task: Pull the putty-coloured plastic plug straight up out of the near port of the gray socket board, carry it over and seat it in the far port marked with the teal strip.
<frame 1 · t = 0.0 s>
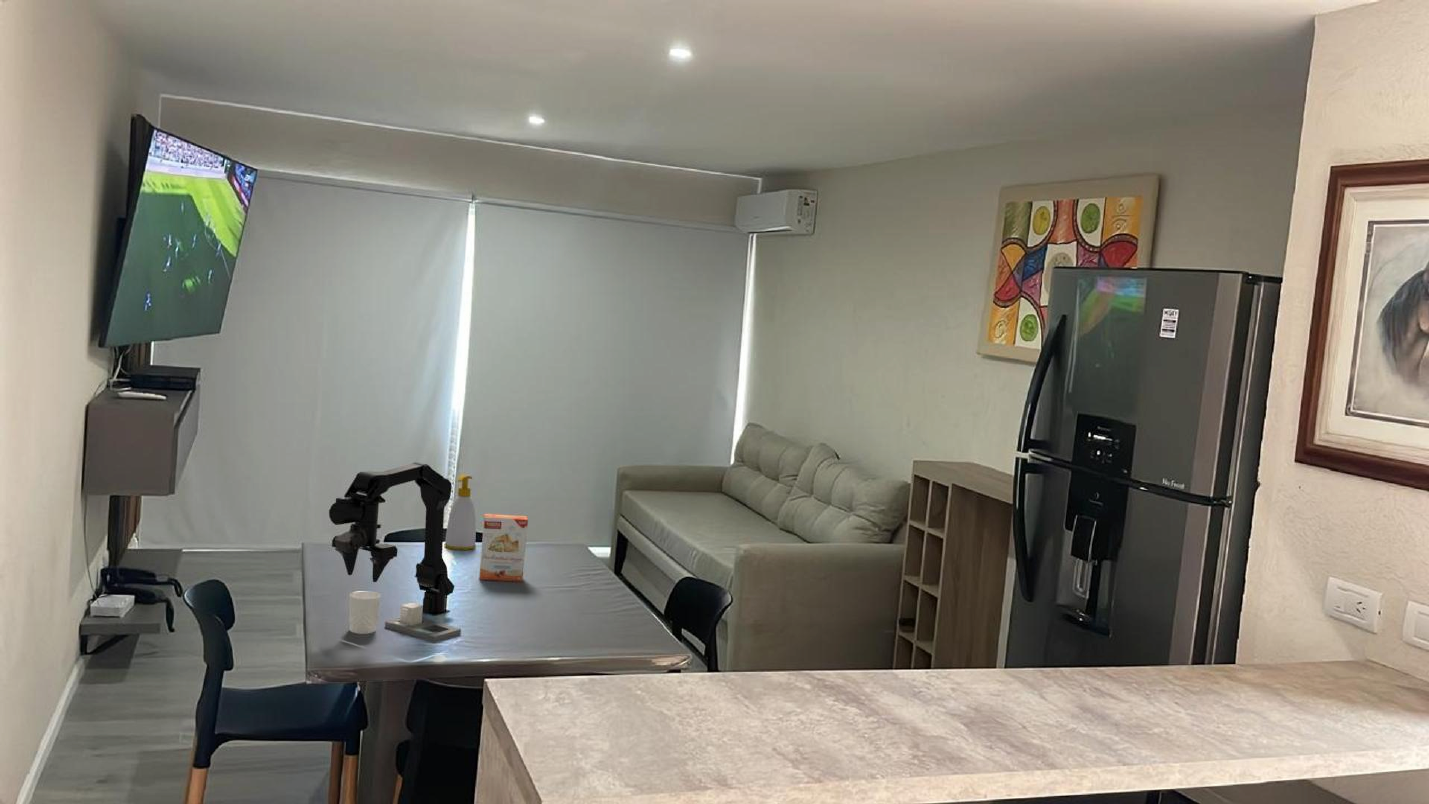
hand: (362, 578, 300), 15 cm above the table, fingers open, 9 cm apart
white cup: (362, 632, 302), on the table
plug: (410, 627, 308), resting on gray socket board
gray socket board: (422, 632, 306), on the table
soap bottle: (459, 547, 409), on the table
cracker box: (500, 579, 370), on the table
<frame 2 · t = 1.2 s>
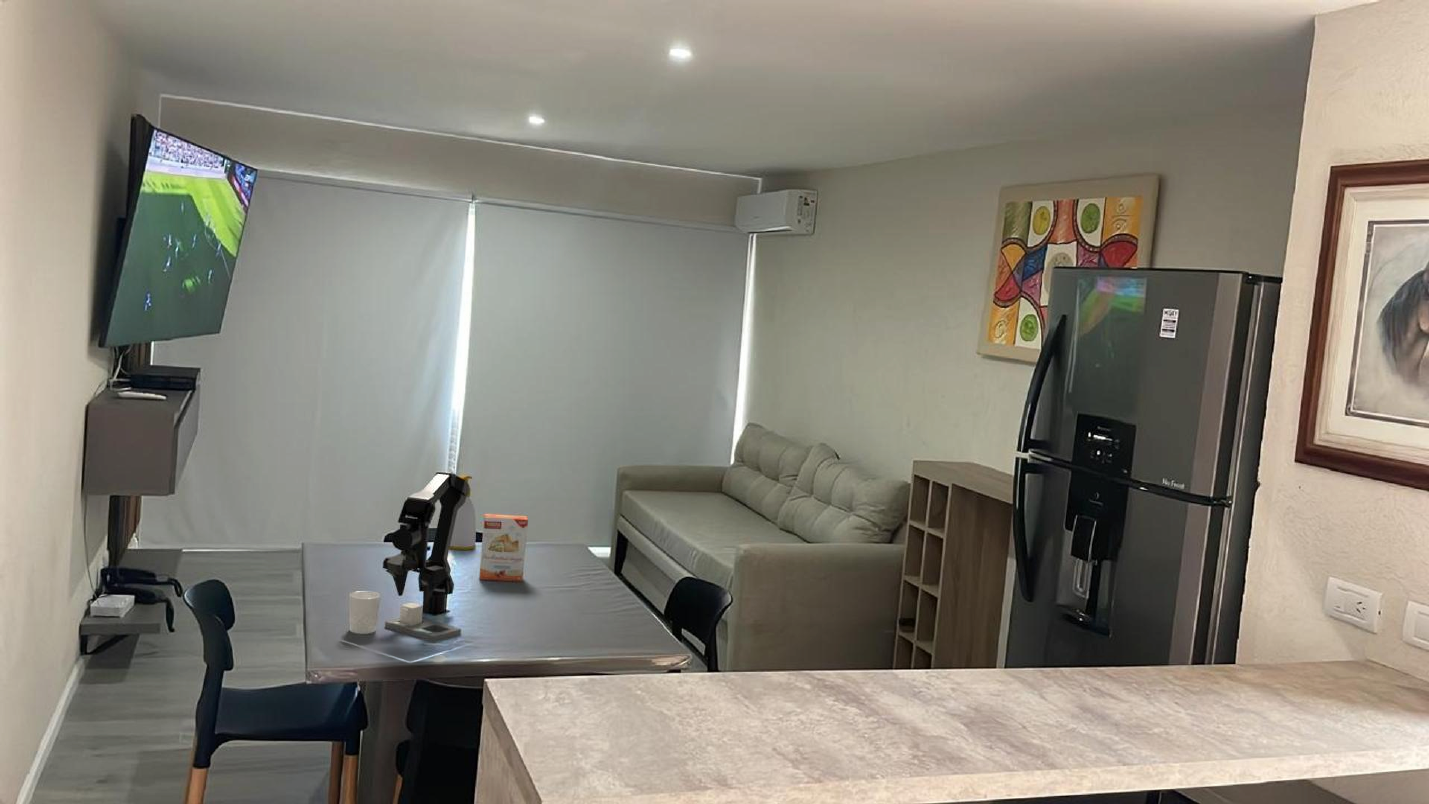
hand: (412, 599, 308), 8 cm above the table, fingers open, 9 cm apart
nothing on the table moved.
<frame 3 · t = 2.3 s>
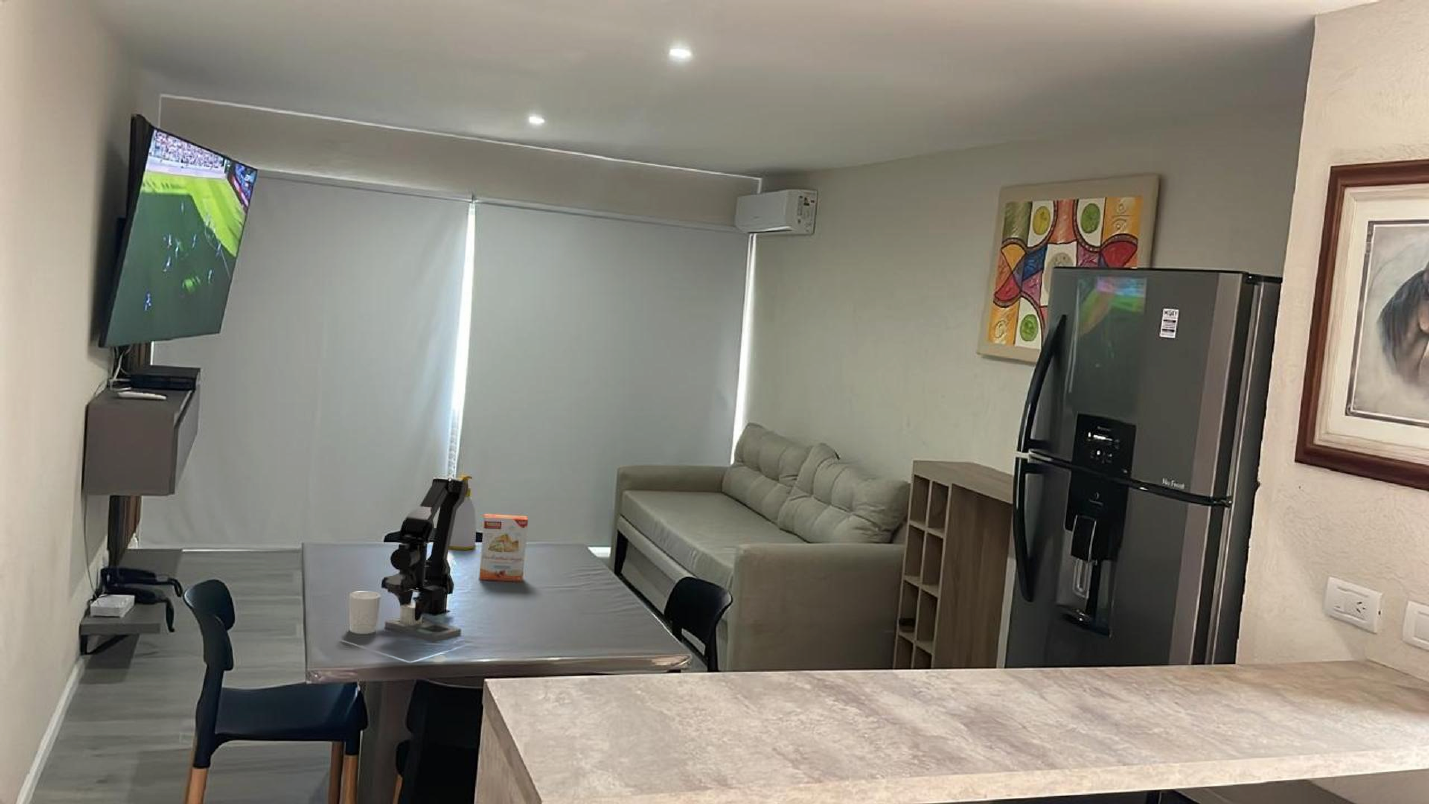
hand: (411, 618, 308), 3 cm above the table, fingers closed on plug, 4 cm apart
plug: (410, 627, 308), resting on gray socket board, touching gripper
everything else where it was.
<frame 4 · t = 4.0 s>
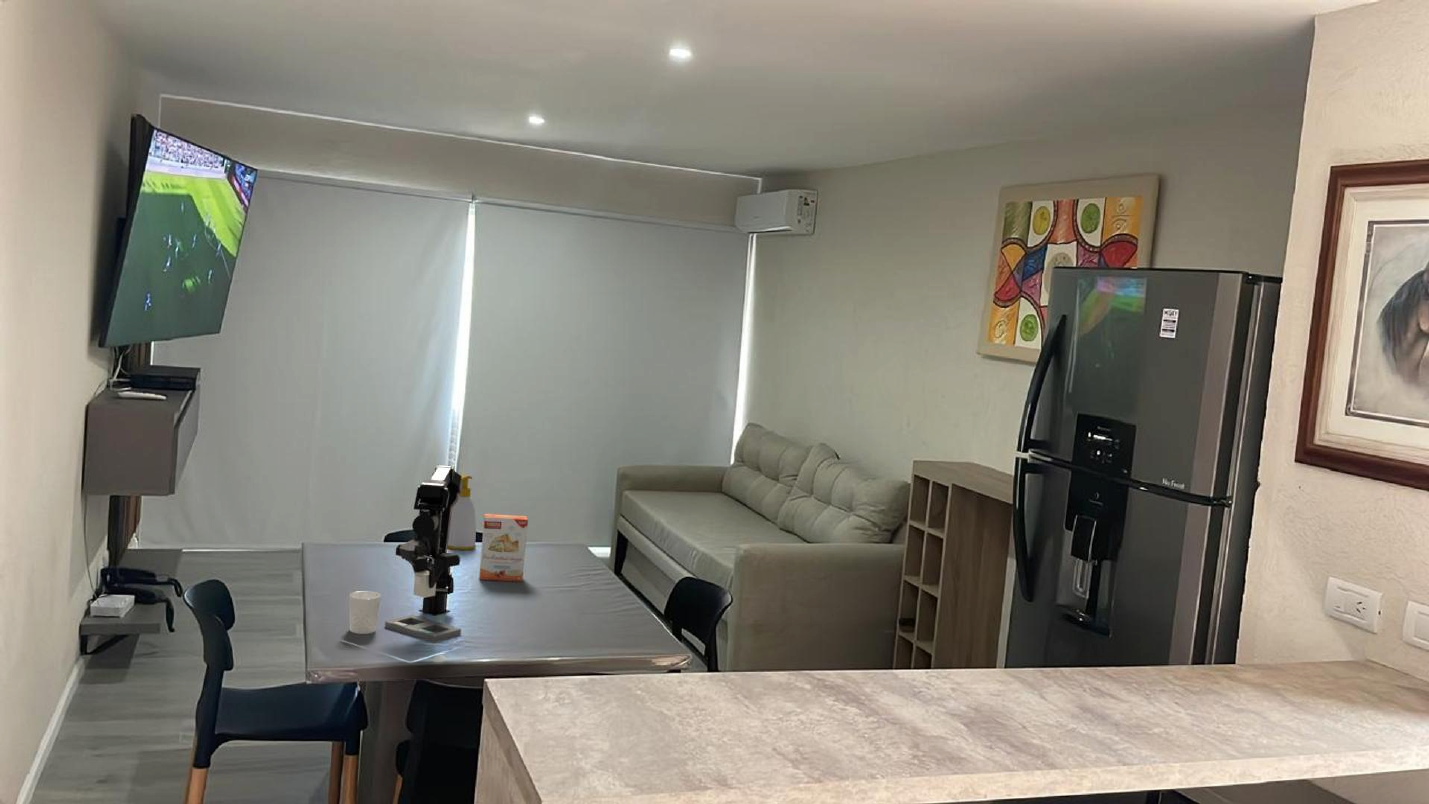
hand: (425, 586, 305), 13 cm above the table, fingers closed on plug, 4 cm apart
plug: (424, 595, 305), point 10 cm above the table, touching gripper
everything else where it was.
when the fingers open (4 cm above the table, at t = 5.8 s): plug drops 1 cm, resting on gray socket board.
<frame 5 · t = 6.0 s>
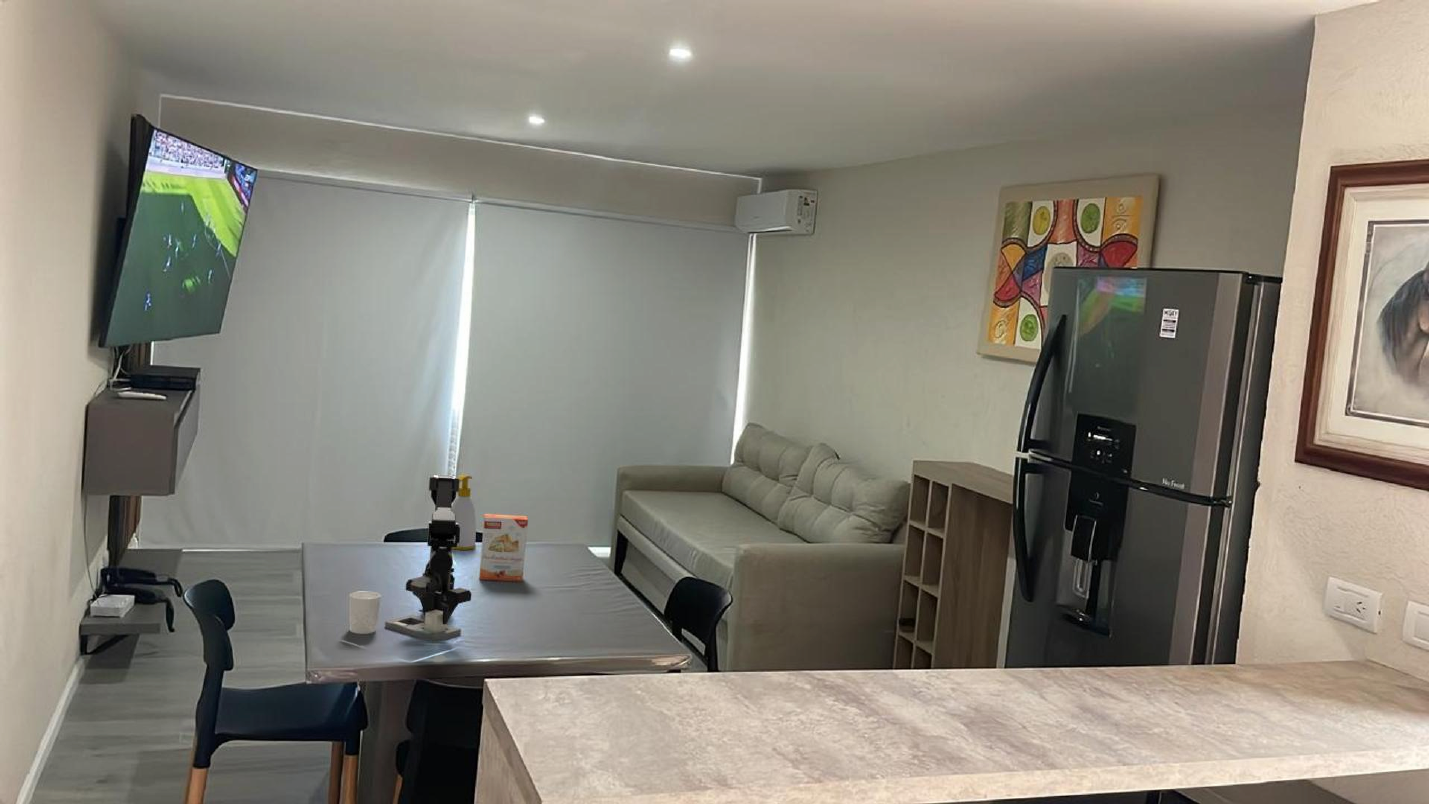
hand: (435, 621, 304), 4 cm above the table, fingers open, 6 cm apart
plug: (434, 634, 304), resting on gray socket board
everything else where it was.
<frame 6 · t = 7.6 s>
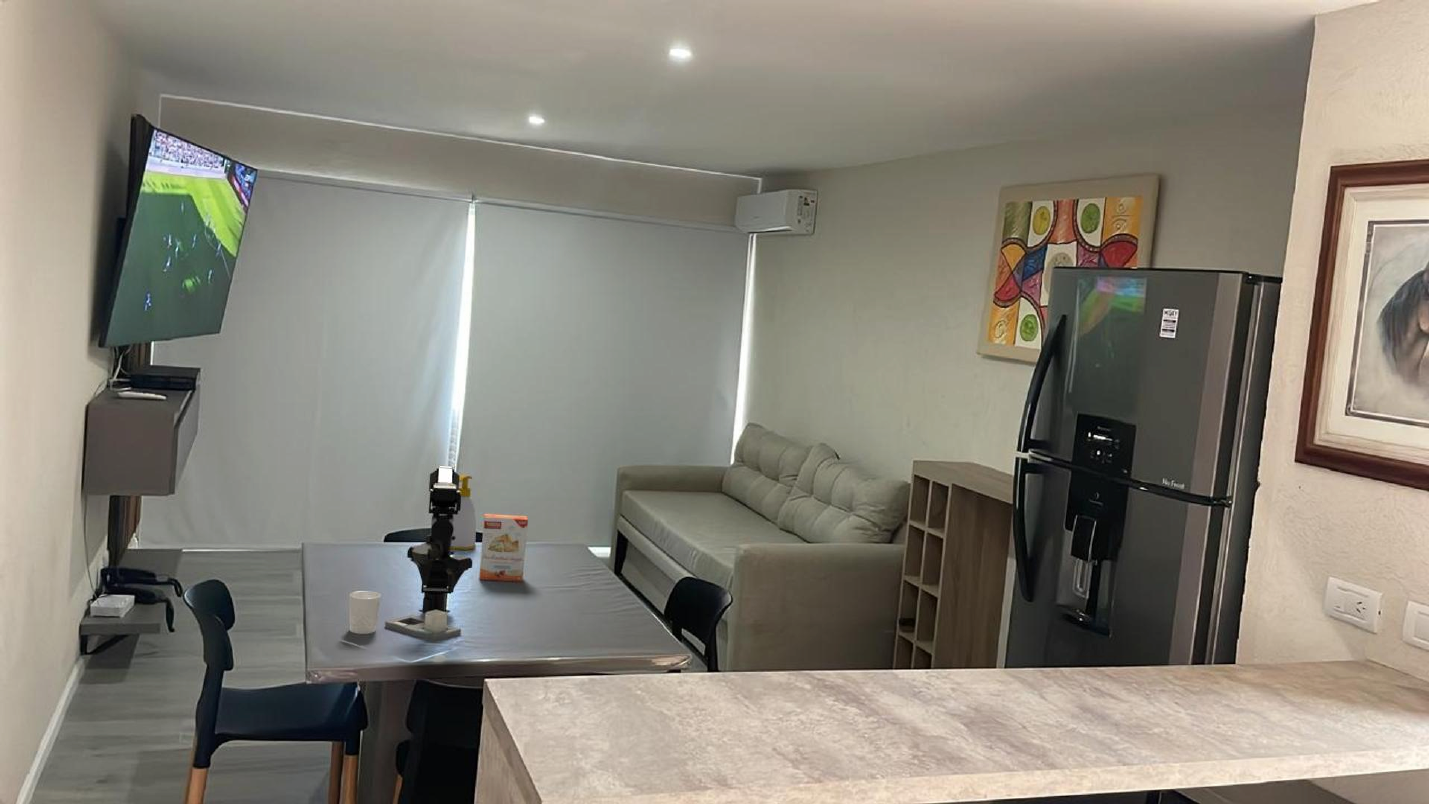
hand: (437, 588, 306), 12 cm above the table, fingers open, 9 cm apart
nothing on the table moved.
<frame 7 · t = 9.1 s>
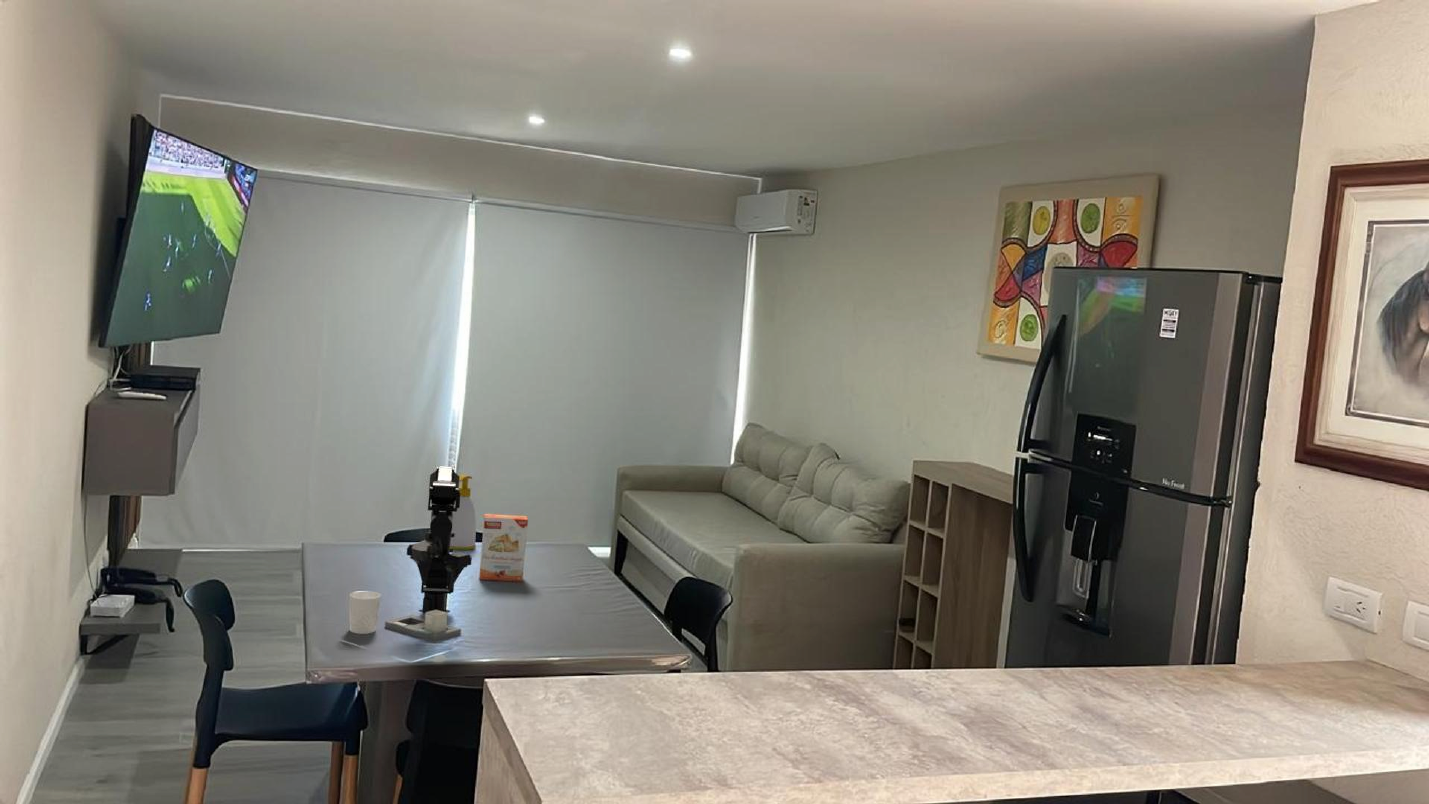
hand: (436, 586, 307), 13 cm above the table, fingers open, 9 cm apart
nothing on the table moved.
at the end: plug 0.0 cm from the target spot on the gray socket board, point 0.5 cm above the gray socket board's base; plug tilted 0°; the gripper is holding nothing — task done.
